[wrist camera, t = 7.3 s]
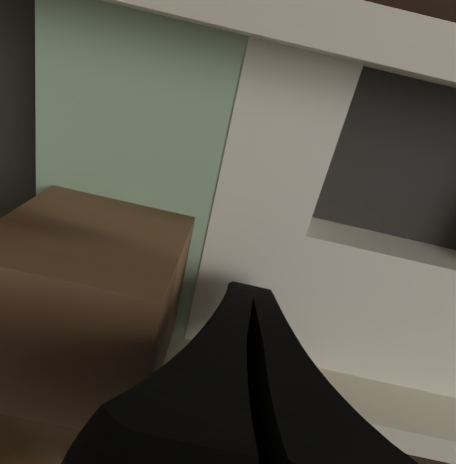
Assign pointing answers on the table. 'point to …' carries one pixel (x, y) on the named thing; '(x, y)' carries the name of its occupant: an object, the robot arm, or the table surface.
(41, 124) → the trap lane
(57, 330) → the block
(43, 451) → the table surface
